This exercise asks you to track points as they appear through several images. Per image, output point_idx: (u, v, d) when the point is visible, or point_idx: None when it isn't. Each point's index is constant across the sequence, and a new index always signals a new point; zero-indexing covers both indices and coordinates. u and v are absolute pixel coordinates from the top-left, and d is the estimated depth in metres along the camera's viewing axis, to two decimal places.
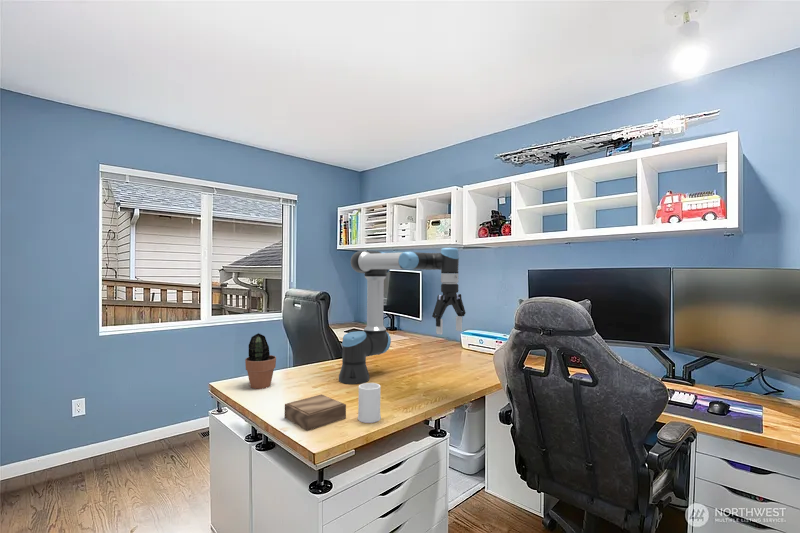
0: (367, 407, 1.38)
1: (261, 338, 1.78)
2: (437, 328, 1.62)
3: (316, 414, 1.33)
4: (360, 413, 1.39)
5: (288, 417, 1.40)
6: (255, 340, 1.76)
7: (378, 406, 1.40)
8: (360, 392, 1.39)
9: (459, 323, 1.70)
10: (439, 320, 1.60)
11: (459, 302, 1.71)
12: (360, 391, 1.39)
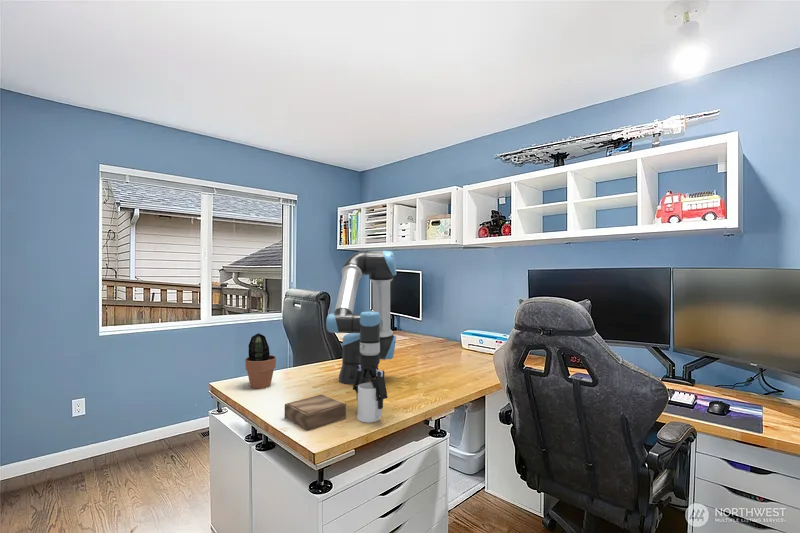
0: (366, 407, 1.38)
1: (261, 338, 1.78)
2: None
3: (316, 414, 1.33)
4: (359, 413, 1.39)
5: (288, 417, 1.40)
6: (255, 340, 1.76)
7: None
8: (360, 391, 1.39)
9: None
10: (357, 394, 1.47)
11: None
12: (359, 391, 1.39)
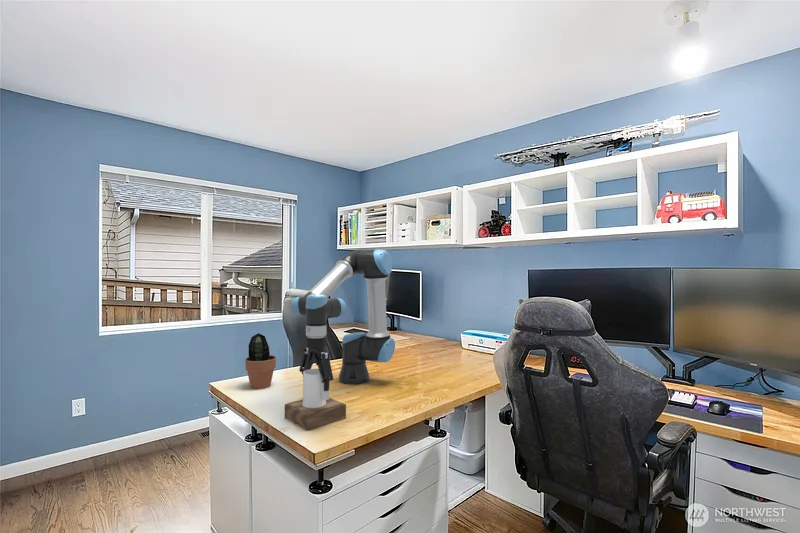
0: (310, 392, 1.37)
1: (261, 338, 1.78)
2: None
3: (316, 414, 1.33)
4: (304, 398, 1.38)
5: (288, 417, 1.40)
6: (255, 340, 1.76)
7: None
8: (304, 377, 1.38)
9: None
10: None
11: None
12: (304, 376, 1.38)
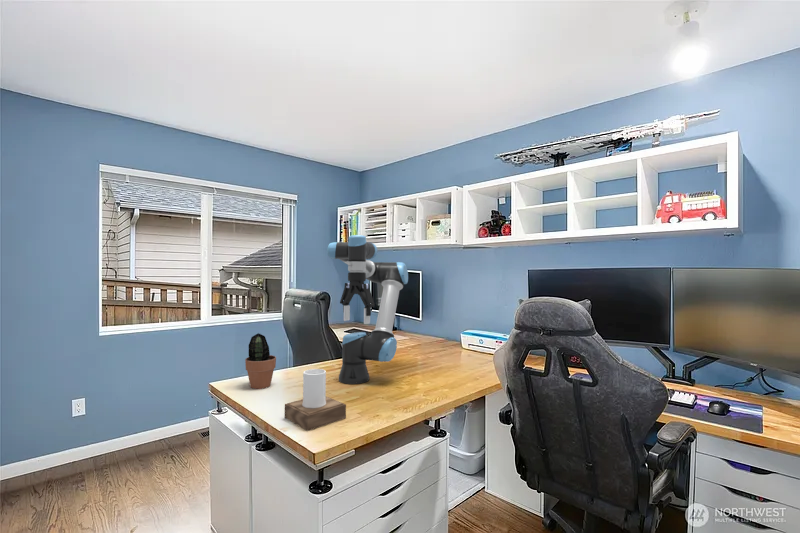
0: (310, 392, 1.37)
1: (261, 338, 1.78)
2: None
3: (316, 414, 1.33)
4: (304, 398, 1.38)
5: (288, 417, 1.40)
6: (255, 340, 1.76)
7: (322, 392, 1.39)
8: (304, 377, 1.38)
9: None
10: (344, 306, 1.67)
11: None
12: (304, 376, 1.38)
